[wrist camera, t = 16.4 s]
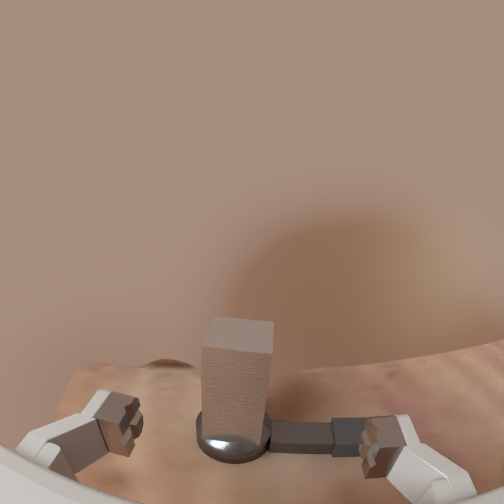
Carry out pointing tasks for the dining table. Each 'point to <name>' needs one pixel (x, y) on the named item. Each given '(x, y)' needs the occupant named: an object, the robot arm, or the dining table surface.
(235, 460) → the ratchet
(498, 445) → the dining table surface
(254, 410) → the tall grey pillar block
